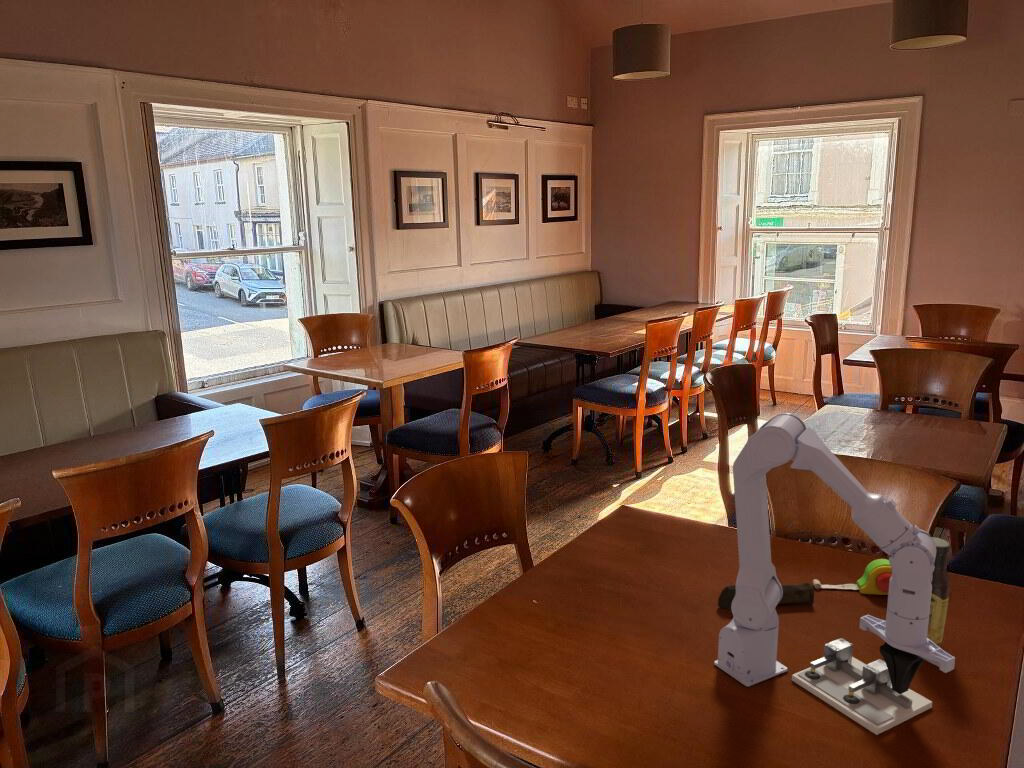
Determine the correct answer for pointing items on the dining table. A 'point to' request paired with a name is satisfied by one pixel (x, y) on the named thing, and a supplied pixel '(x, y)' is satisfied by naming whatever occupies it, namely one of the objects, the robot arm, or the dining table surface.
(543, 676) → the dining table surface
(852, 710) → the board
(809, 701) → the dining table surface
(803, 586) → the hand tool
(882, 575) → the toy measuring tape
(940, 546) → the sauce bottle
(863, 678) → the grey sliding bolt
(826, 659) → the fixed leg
